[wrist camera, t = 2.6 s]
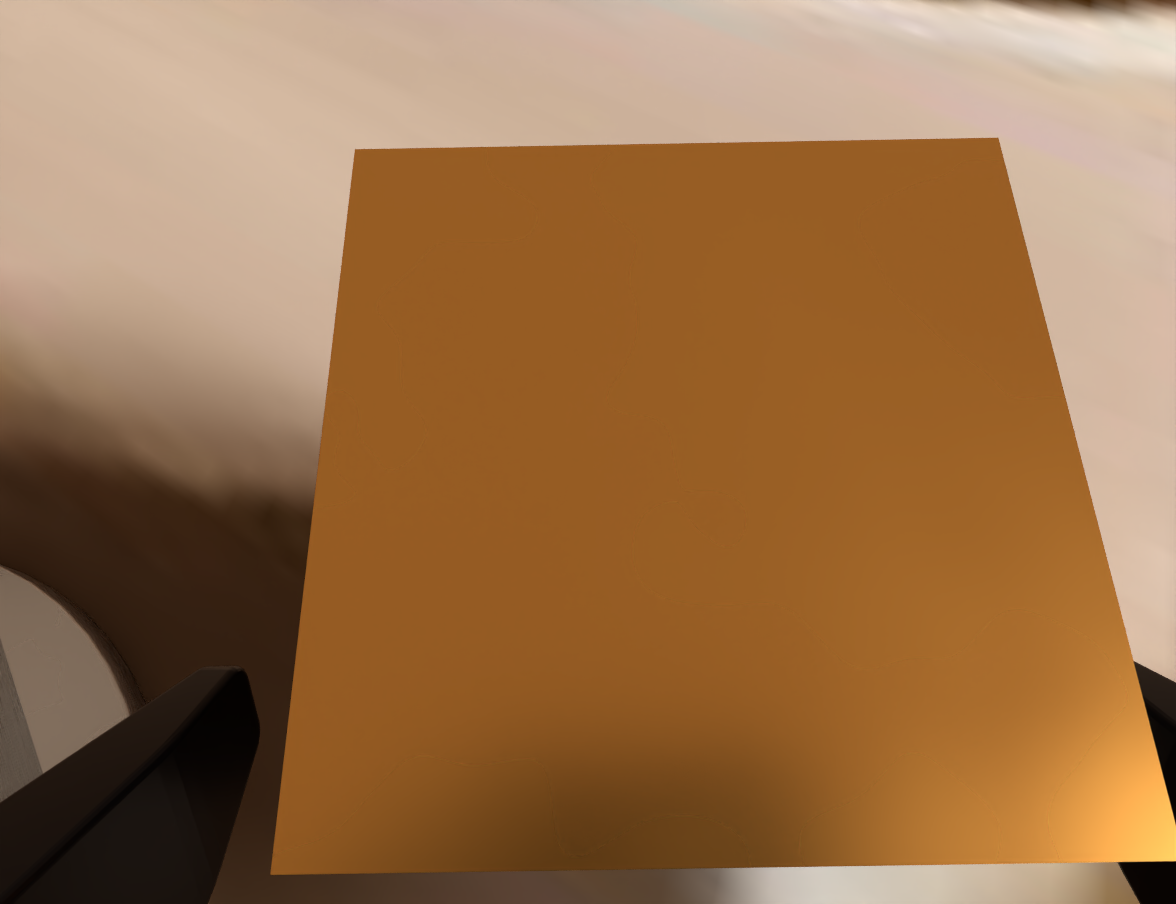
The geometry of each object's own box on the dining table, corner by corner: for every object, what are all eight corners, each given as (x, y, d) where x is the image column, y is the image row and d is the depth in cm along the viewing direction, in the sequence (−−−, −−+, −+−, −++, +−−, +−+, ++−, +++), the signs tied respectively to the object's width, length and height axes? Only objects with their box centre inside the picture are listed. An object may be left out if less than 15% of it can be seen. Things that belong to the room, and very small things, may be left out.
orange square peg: (742, 774, 16) (1183, 860, 4) (513, 777, 16) (269, 874, 4) (724, 550, 18) (998, 138, 6) (517, 554, 18) (355, 149, 6)
